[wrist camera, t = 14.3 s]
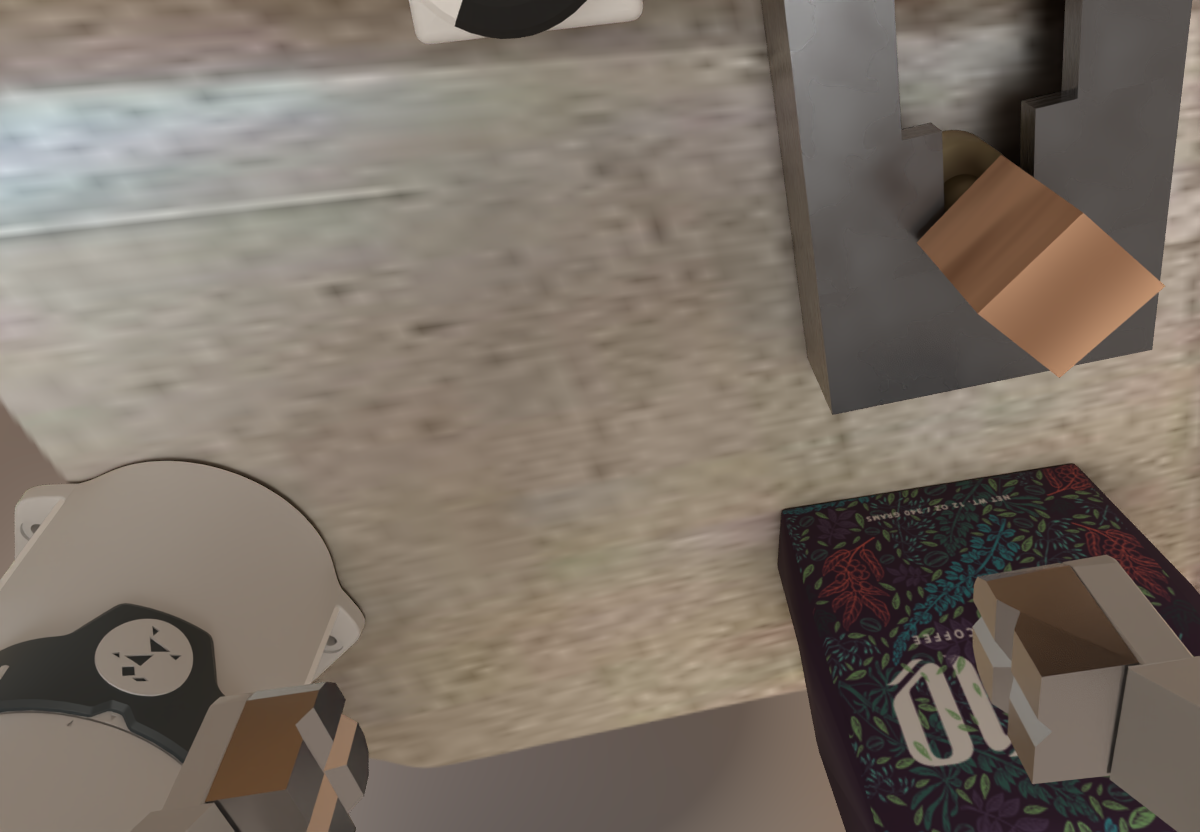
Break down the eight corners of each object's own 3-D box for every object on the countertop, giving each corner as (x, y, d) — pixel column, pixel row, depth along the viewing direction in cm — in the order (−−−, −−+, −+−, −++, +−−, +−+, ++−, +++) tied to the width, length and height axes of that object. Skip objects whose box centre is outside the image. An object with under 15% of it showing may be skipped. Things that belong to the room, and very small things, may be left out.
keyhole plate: (1092, 297, 40) (1152, 349, 35) (807, 358, 41) (832, 414, 37) (1129, -233, 29) (1221, -249, 25) (744, -124, 31) (769, -122, 26)
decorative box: (769, 503, 46) (959, 1182, 22) (1090, 452, 44) (1659, 1125, 21) (782, 612, 50) (953, 1277, 27) (1074, 569, 49) (1531, 1235, 25)
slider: (1017, 171, 36) (1175, 284, 27) (938, 251, 38) (1058, 385, 28) (946, 108, 35) (1084, 203, 25) (868, 194, 37) (968, 315, 27)
